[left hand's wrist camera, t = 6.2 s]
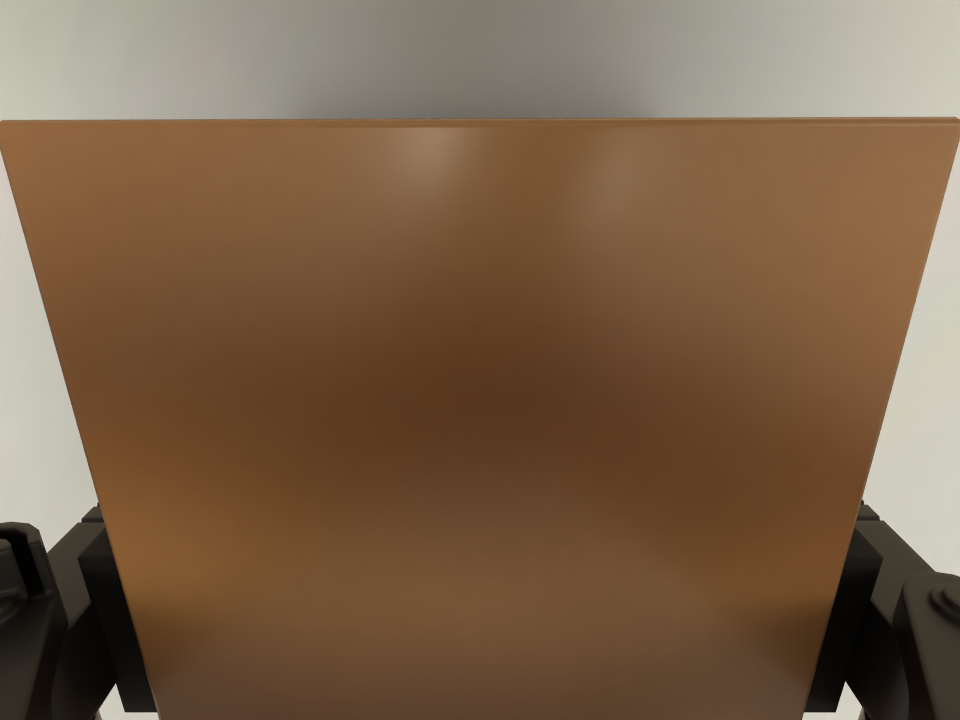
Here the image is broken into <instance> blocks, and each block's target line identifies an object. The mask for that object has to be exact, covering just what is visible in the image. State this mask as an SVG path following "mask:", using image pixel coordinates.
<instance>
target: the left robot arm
mask: <svg viewBox="0 0 960 720" xmlns="http://www.w3.org/2000/svg"><path fill="white" fill-rule="evenodd" d="M97 504H98V505H97V507H93V508H92V509H91V510H90V511H89V512H88V513H87V514H86V515H85V516H84V517H83V518H82V522H81V523H77V524H76V525H75V526H74V527H73V528H72V529H71V530H70V531H69V532H68V533H67V534H66V535H65V536H64V537H63V538H62V539H61V540H60V541H59V542H58V543H57V544H56V545H55V546H54V547H53V548H52V549H51V550H50V551H49V552H48V553H46V550H45V547H44V544H43V541H42V538H41V535H40V532H39V530H38V529H37V528H35V527H33V526H32V525H30V524H28V523H18V522H6V523H0V720H102V719H101V716H100V713H99V708H100V707H101V705H102V703H103V702H104V700H105V699H106V697H107V696H108V694H109V693H110V691H111V690H112V688H113V687H114V685H115V683H116V685H117V688H118V691H119V694H120V698H121V701H122V704H123V707H124V711H125V712H157V709H156V705H155V702H154V698H153V695H152V691H151V687H150V684H149V680H148V677H147V673H146V669H145V666H144V662H143V659H142V655H141V652H140V648H139V644H138V641H137V637H136V634H135V630H134V626H133V623H132V619H131V616H130V612H129V609H128V605H127V601H126V598H125V594H124V591H123V587H122V583H121V580H120V576H119V573H118V569H117V566H116V562H115V558H114V555H113V551H112V548H111V544H110V540H109V537H108V533H107V530H106V526H105V523H104V519H103V515H102V512H101V508H100V505H99V502H98V503H97ZM845 681H846V683H847V684H848V686H849V687H850V689H851V690H852V692H853V693H854V695H855V696H856V698H857V699H858V701H859V702H860V704H861V705H862V710H861V713H860V716H859V719H858V720H960V577H959V576H956V575H952V574H946V573H939V572H935V571H934V570H933V569H932V568H931V567H930V566H929V565H928V564H927V563H926V562H925V561H924V560H923V559H922V558H921V557H920V556H919V555H918V554H917V553H916V552H915V551H914V550H913V549H912V548H911V547H910V546H909V545H908V544H907V543H906V542H905V541H904V540H903V539H902V538H901V537H900V536H899V535H898V534H897V533H896V532H895V531H894V530H893V529H892V528H891V527H890V526H889V525H887V524H886V523H885V522H884V521H880V519H879V516H878V515H877V514H876V513H875V512H874V511H873V510H872V509H871V508H870V507H869V506H868V505H864V501H863V500H861V504H860V507H859V511H858V515H857V518H856V522H855V526H854V530H853V533H852V537H851V541H850V544H849V548H848V552H847V555H846V559H845V563H844V566H843V570H842V574H841V577H840V581H839V585H838V588H837V592H836V596H835V599H834V603H833V607H832V611H831V614H830V618H829V622H828V625H827V629H826V633H825V636H824V640H823V644H822V647H821V651H820V655H819V658H818V662H817V666H816V669H815V673H814V677H813V680H812V684H811V688H810V692H809V695H808V699H807V703H806V706H805V710H804V712H836V709H837V706H838V703H839V700H840V696H841V693H842V690H843V687H844V683H845Z"/></svg>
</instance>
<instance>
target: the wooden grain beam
mask: <svg viewBox="0 0 960 720" xmlns="http://www.w3.org/2000/svg"><path fill="white" fill-rule="evenodd" d="M959 139H960V119H958V118H956V117H783V118H489V119H195V120H2V121H0V150H1V154H2V157H3V161H4V164H5V168H6V171H7V175H8V179H9V182H10V186H11V189H12V193H13V197H14V200H15V204H16V207H17V211H18V214H19V218H20V222H21V225H22V229H23V232H24V236H25V240H26V243H27V247H28V250H29V254H30V257H31V261H32V265H33V268H34V272H35V275H36V279H37V283H38V286H39V290H40V293H41V297H42V300H43V304H44V308H45V311H46V315H47V318H48V322H49V326H50V329H51V333H52V336H53V340H54V343H55V347H56V351H57V354H58V358H59V361H60V365H61V369H62V372H63V376H64V379H65V383H66V386H67V390H68V394H69V397H70V401H71V404H72V408H73V412H74V415H75V419H76V422H77V426H78V429H79V433H80V437H81V440H82V444H83V447H84V451H85V454H86V458H87V462H88V465H89V469H90V472H91V476H92V480H93V483H94V487H95V490H96V494H97V497H98V501H99V505H100V508H101V512H102V515H103V519H104V523H105V526H106V530H107V533H108V537H109V540H110V544H111V548H112V551H113V555H114V558H115V562H116V566H117V569H118V573H119V576H120V580H121V583H122V587H123V591H124V594H125V598H126V601H127V605H128V609H129V612H130V616H131V619H132V623H133V626H134V630H135V634H136V637H137V641H138V644H139V648H140V652H141V655H142V659H143V662H144V666H145V669H146V673H147V677H148V680H149V684H150V687H151V691H152V695H153V698H154V702H155V705H156V709H157V712H158V716H159V720H802V717H803V714H804V710H805V706H806V703H807V699H808V695H809V692H810V688H811V684H812V680H813V677H814V673H815V669H816V666H817V662H818V658H819V655H820V651H821V647H822V644H823V640H824V636H825V633H826V629H827V625H828V622H829V618H830V614H831V611H832V607H833V603H834V599H835V596H836V592H837V588H838V585H839V581H840V577H841V574H842V570H843V566H844V563H845V559H846V555H847V552H848V548H849V544H850V541H851V537H852V533H853V530H854V526H855V522H856V518H857V515H858V511H859V507H860V504H861V500H862V496H863V493H864V489H865V485H866V482H867V478H868V474H869V471H870V467H871V463H872V460H873V456H874V452H875V448H876V445H877V441H878V437H879V434H880V430H881V426H882V423H883V419H884V415H885V412H886V408H887V404H888V401H889V397H890V393H891V390H892V386H893V382H894V379H895V375H896V371H897V367H898V364H899V360H900V356H901V353H902V349H903V345H904V342H905V338H906V334H907V331H908V327H909V323H910V320H911V316H912V312H913V309H914V305H915V301H916V298H917V294H918V290H919V286H920V283H921V279H922V275H923V272H924V268H925V264H926V261H927V257H928V253H929V250H930V246H931V242H932V239H933V235H934V231H935V228H936V224H937V220H938V216H939V213H940V209H941V205H942V202H943V198H944V194H945V191H946V187H947V183H948V180H949V176H950V172H951V169H952V165H953V161H954V158H955V154H956V150H957V147H958V143H959Z"/></svg>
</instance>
